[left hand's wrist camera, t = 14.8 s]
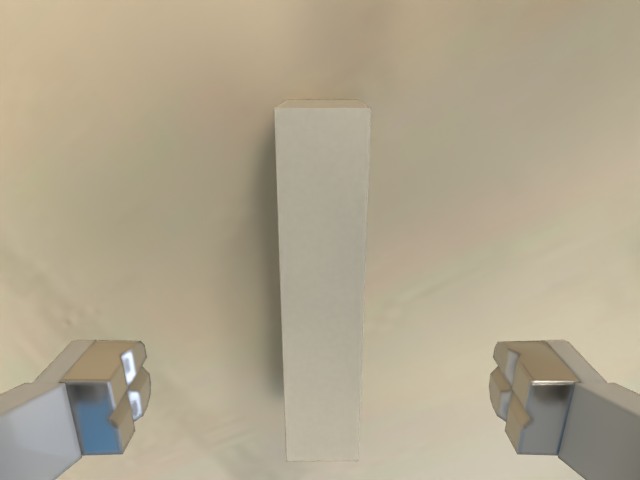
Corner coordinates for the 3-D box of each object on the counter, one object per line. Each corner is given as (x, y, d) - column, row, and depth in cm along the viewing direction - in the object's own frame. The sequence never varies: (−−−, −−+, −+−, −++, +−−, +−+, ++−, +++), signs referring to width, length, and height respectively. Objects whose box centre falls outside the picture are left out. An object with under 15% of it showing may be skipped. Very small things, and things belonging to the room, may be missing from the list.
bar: (286, 99, 31) (273, 107, 23) (357, 99, 31) (371, 107, 23) (293, 381, 39) (286, 461, 31) (350, 381, 39) (358, 461, 31)
